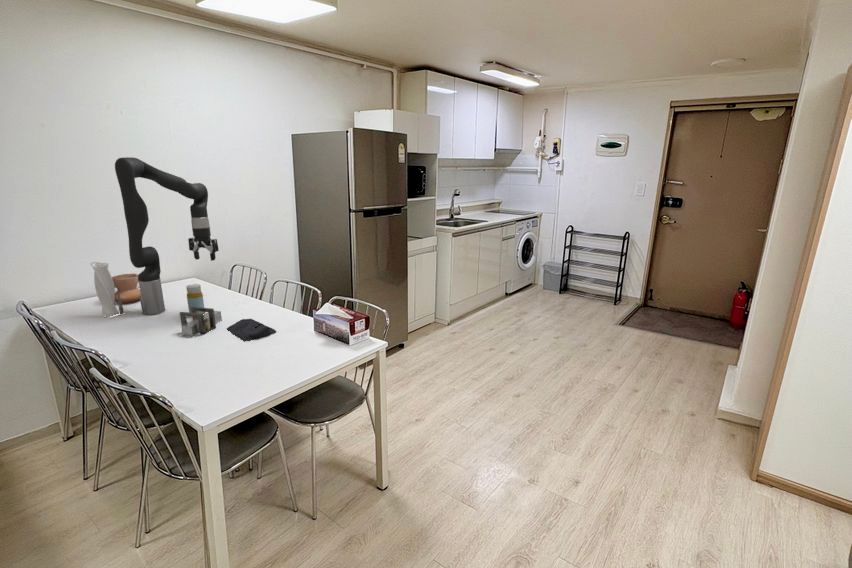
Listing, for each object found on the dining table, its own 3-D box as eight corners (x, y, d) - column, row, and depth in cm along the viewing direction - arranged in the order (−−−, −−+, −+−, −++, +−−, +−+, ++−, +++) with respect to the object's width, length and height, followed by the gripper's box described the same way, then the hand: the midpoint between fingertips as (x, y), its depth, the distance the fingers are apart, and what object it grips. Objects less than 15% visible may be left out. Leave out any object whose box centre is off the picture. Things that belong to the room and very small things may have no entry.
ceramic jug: (142, 294, 249) (138, 270, 245) (151, 300, 239) (147, 275, 235) (105, 302, 236) (99, 276, 232) (112, 308, 226) (107, 282, 222)
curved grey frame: (182, 332, 197) (179, 312, 194) (195, 325, 205) (192, 306, 202) (204, 334, 195) (201, 314, 192) (216, 327, 203) (213, 308, 200)
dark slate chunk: (255, 321, 212) (254, 312, 211) (278, 334, 198) (277, 324, 197) (223, 330, 202) (222, 320, 200) (245, 344, 187) (244, 333, 186)
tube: (192, 337, 192) (191, 326, 191) (182, 336, 193) (181, 325, 192) (222, 321, 211) (220, 311, 210) (212, 320, 212) (211, 310, 211)
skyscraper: (108, 319, 212) (97, 263, 204) (96, 317, 214) (85, 262, 206) (125, 314, 219) (115, 259, 212) (113, 312, 222) (102, 258, 214)
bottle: (208, 312, 222) (204, 284, 218) (199, 317, 216) (195, 288, 211) (195, 311, 223) (191, 283, 219) (186, 316, 216) (182, 287, 212)
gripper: (182, 226, 205) (186, 260, 210) (208, 228, 202) (213, 262, 207) (193, 224, 212) (197, 257, 217) (219, 225, 210) (223, 259, 214)
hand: (205, 259), depth 212 cm, fingers open, 8 cm apart
